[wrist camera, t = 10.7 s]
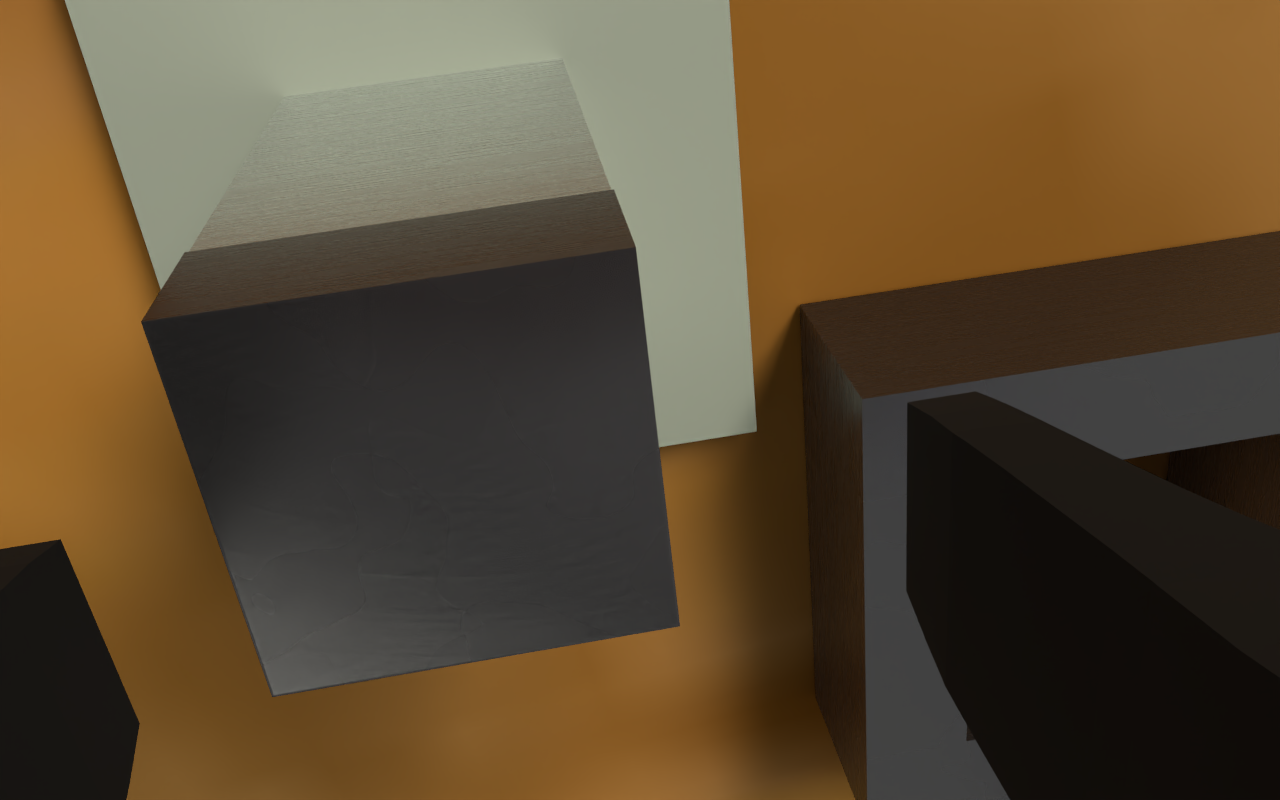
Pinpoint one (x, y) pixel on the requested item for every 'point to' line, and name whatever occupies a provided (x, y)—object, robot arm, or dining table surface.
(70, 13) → the mat
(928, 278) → the dining table surface
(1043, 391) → the socket block
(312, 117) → the key peg
